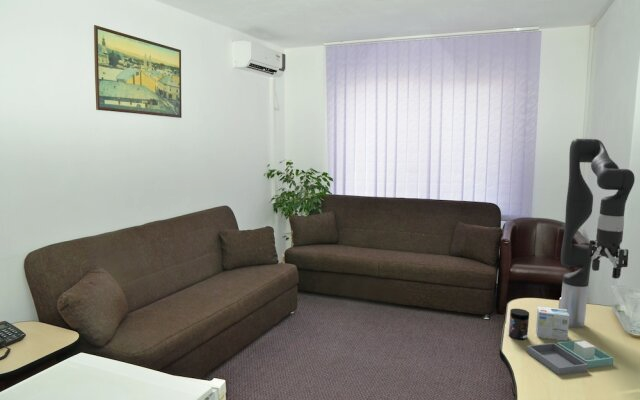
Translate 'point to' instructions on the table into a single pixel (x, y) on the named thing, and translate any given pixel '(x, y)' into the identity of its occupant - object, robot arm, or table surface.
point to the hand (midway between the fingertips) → (605, 274)
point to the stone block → (584, 350)
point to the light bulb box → (552, 323)
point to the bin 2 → (598, 360)
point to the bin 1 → (557, 359)
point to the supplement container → (518, 324)
